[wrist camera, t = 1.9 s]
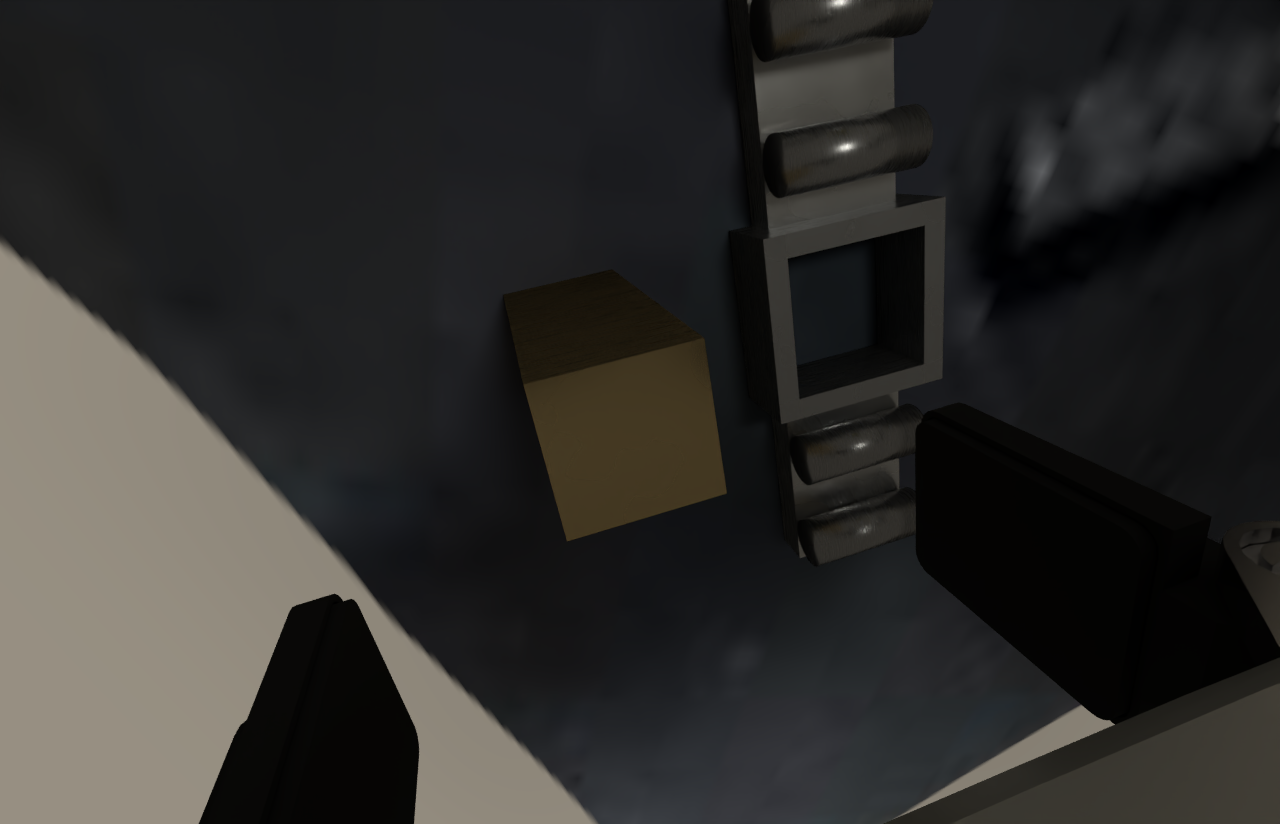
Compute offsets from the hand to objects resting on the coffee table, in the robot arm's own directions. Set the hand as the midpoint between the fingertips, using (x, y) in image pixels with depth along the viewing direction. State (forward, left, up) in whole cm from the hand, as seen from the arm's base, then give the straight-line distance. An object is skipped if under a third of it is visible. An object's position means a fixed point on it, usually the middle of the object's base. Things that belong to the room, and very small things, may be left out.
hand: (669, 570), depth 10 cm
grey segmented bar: (-11, +1, -14) cm, 18 cm away
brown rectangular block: (0, 0, -14) cm, 14 cm away
